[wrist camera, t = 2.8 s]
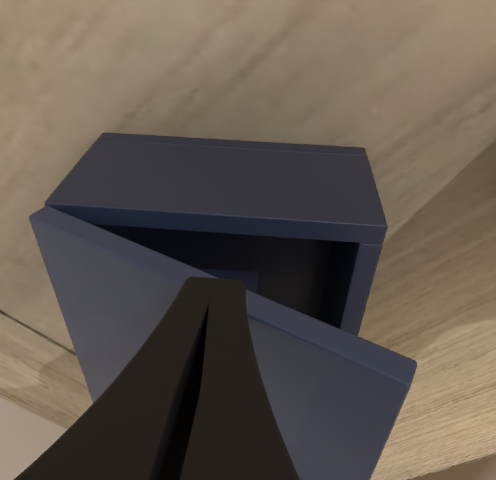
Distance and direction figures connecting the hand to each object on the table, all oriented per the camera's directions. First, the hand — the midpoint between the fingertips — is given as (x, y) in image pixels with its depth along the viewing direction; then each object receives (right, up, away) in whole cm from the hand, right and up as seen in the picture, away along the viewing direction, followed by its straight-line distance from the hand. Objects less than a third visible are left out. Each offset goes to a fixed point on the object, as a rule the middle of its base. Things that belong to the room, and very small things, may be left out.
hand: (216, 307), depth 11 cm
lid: (-1, -5, +7) cm, 8 cm away
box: (0, 0, +13) cm, 13 cm away
